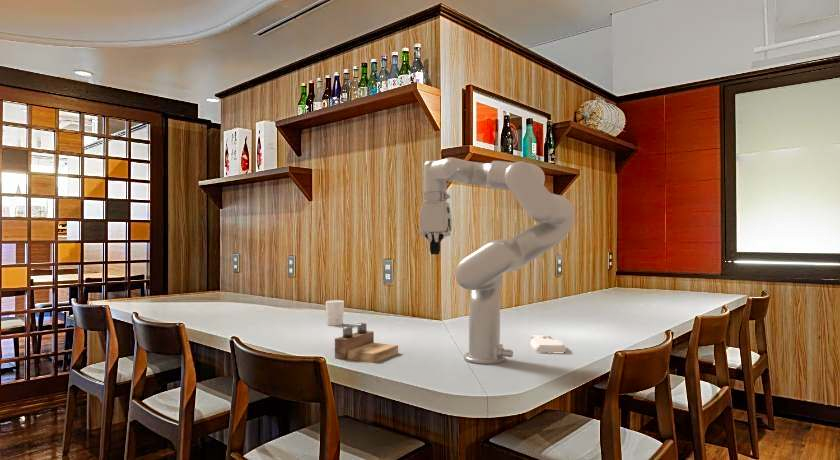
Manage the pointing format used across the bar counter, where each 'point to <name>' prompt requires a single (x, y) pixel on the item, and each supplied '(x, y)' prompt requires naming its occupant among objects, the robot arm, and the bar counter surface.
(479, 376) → the bar counter surface
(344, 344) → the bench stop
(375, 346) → the oak plate
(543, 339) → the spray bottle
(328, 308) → the white cup
